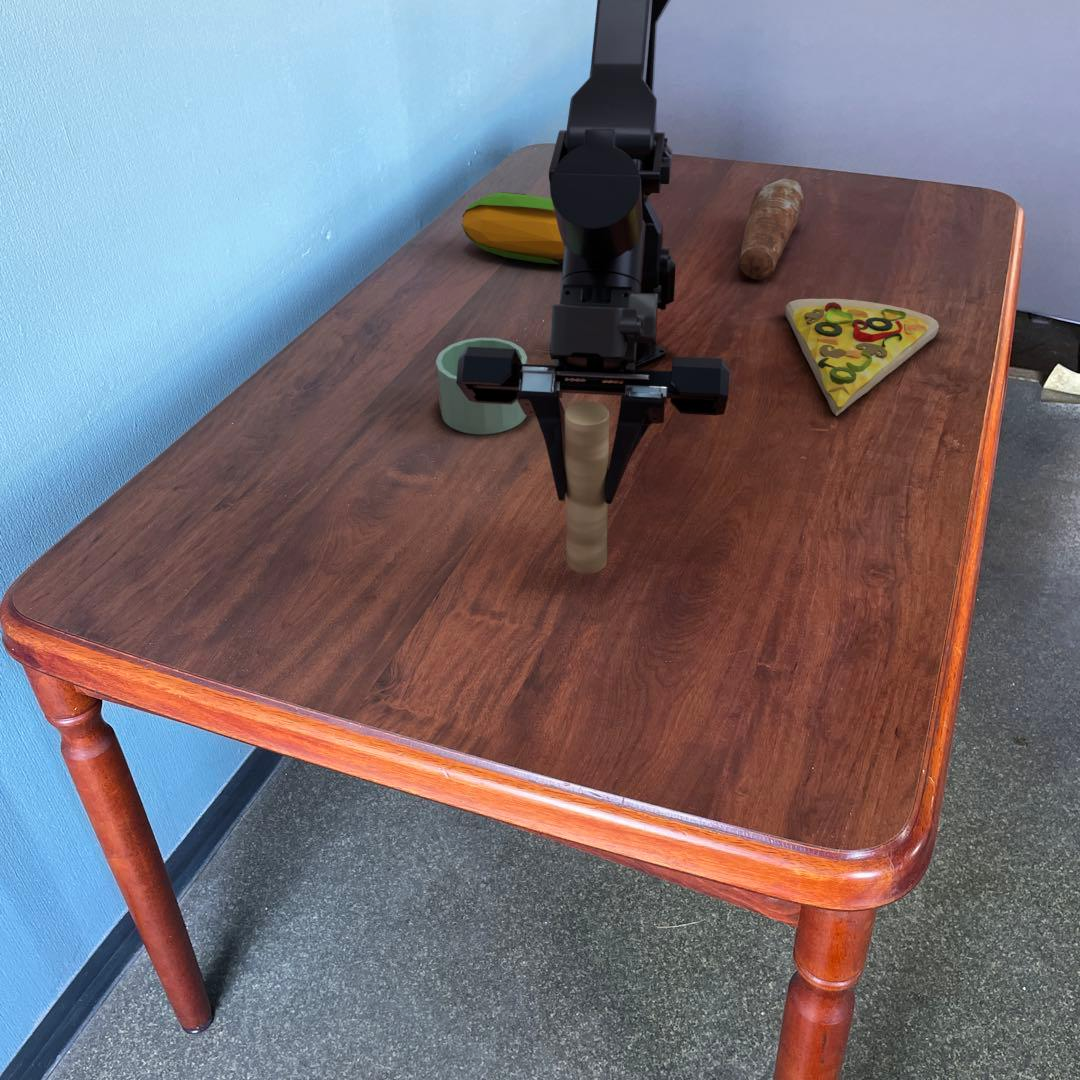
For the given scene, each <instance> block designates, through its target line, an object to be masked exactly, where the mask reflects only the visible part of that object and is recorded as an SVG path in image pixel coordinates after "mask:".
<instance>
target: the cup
mask: <svg viewBox="0 0 1080 1080" xmlns="http://www.w3.org/2000/svg"><path fill="white" fill-rule="evenodd" d="M468 347H485V348H507V349H516V352H517V354H518V356H519V358H520V360H521V362H522V364H529V362H528V356H527V354H526V351H525V350H524V348H523V347H521V346H520V345H517V344H516V343H514V342H513V341H510V340H505V339H502V338H498V337H474V338H469V339H462V340H460V341H458V342H454V343H451V344H449V345H447V346H446V347H445V348H444V349H442V350H441V351H440V352H439V353H438V356H437V357H436V360H435V371H436V381H437V392H438V404H439V410H440V415H441V418H442V420H443V422H444V423H445V424H446V425H447V426H448V427H450V428H451V429H453V430H455V431H458V432H461V433H465V434H471V435H492V434H493V435H494V434H499V433H502V432H506V431H509V430H511V429H514V428H516V427H517V426H519V425H520V424H522V423H523V422H524V420H525V419H526V418H527V416H526V415H525V414H524V412H523V410H522V408H521V407H520V405H519V403H518V401H517V400H516V401H515V402H514V403H513V404H512V405H508V404H490V403H476V402H472V401H469V400H468V399H467V397H466V396H465V394H464V393H463V392H462V390H461V389H460V388H459V386H458V385H457V384H456V379H457V368H458V360H459V357H460V355H461V354H462V353H463V352H464V351H465V350H466V349H467V348H468Z"/></svg>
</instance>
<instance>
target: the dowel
mask: <svg viewBox="0 0 1080 1080" xmlns="http://www.w3.org/2000/svg"><path fill="white" fill-rule="evenodd" d="M564 411H565V475H566V496H565V542H566V543H565V547H566V549H565V551H566V553H565V554H566V559H565V560H566V564H567V566H568V568H569V569H570V570H571V571H573V572H575V573H578V574H582V575H591V574H596V573H598V572H600V571H602V570H603V569H604V568H605V567H606V566H607V562H608V517H609V515H608V514H609V513H608V509H609V506H608V505H609V504H606V503H605V494H606V480H607V474H608V469H609V461H610V460H609V458H610V457H609V456H610V455H609V454H610V453H609V452H610V410H609V409H608V408H607V406H605V405H604V404H602V403H599V402H595V401H579V402H575V403H573V404H571V405H569V406H567V408H566V410H564Z"/></svg>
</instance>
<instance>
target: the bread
mask: <svg viewBox="0 0 1080 1080" xmlns="http://www.w3.org/2000/svg"><path fill="white" fill-rule="evenodd" d="M805 206H806V200H805V195H804V193H803V190H802V186H801V184H800V183H799V182H798V180H794V179H789V178H783V177H781V178H779V179H777V180H775V181H772V182H770V183H769V184H766V185H764V186H761V187H759V188H758V189H757V190H756V192H755V193H754V196H753V198H752V201H751V204H750V207H749V211H748V216H747V222H746V224H745V229H744V233H743V239H742V243H741V250H740V256H739V261H738V263H739V264H738V266H739V269H740V271H741V272H742V273H743V274H744V275H746V277H748V278H750V279H753V280H763V279H767V278H768V277H770V276H771V275H772V274H773V273H774V271H775V269H776V266H777V263H778V261H779V259H780V258H781V257H782V255H783V252H784V250H785V247H786V246H787V244H788V242H789V240H790V237H791V235H792V233H793V230H794V229H795V228H796V226H797V223H798V221H799V219H800V217H801V216H802V214H803V211H804V209H805Z"/></svg>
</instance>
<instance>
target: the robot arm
mask: <svg viewBox="0 0 1080 1080" xmlns="http://www.w3.org/2000/svg"><path fill="white" fill-rule="evenodd" d="M671 1H672V0H596V11H595V20H594V21H595V22H594V29H593V30H594V32H593V40H592V51H591V62H590V69H589V77H588V78H587V79H586V81H584V83H583V84H582V85H581V86H580V87H579V88H578V90H577V91H575V92H574V93H573V94H572V96H571V98H570V102H569V107H568V108H569V109H568V116H567V123H566V130H565V129H564V130H563V129H560V130H559V131H558V133H557V138H556V141H555V144H554V145H555V146H554V150H553V153H552V157H551V161H550V165H549V168H548V180H549V193H550V199H552V203H553V207H554V211H555V215H556V220H557V224H558V228H559V232H560V235H561V238H562V241H563V243H564V245H565V246H564V258H563V259H562V272H561V283H560V294H559V295H560V296H559V303H557V304H552V305H551V307H552V308H551V327H550V330H551V331H550V344H549V357H550V359H551V360H554V364H553V365H552V364H535V363H533V364H532V363H528V364H522V362H521V360H520V358H519V356H518V354H517V352H516V349H507V348H485V347H468V348H467V349H466V350H465V351H464V352H463V353H462V354H461V355H460V357H459V360H458V368H457V379H456V384H457V385H458V386H459V388H460V389H461V390H462V392H463V393H464V394H465V396H466V397H467V399H468V400H469V401H472V402H476V403H490V404H508V405H512V404H513V403H514V402H515V401H516V400H517V401H518V403H519V405H520V407H521V408H522V410H523V412H524V414H525V415H526V417H529V418H536V420H537V423H538V425H539V427H540V431H541V433H542V436H543V439H544V442H545V447H546V451H547V455H548V460H549V465H550V469H551V472H552V478H553V482H554V487H555V490H556V495H557V500H558V501H559V502H566V475H565V411H566V410H565V408H564V405H563V403H562V400H561V399H563V394H579V395H580V394H582V395H599V396H600V395H601V396H619V397H620V403H619V411H618V418H617V425H616V430H615V435H614V438H613V439H614V440H613V445H612V449H611V454H610V460H609V463H608V474H607V480H606V494H605V503H606V504H608V505H611V504H612V503H613V501H614V499H615V496H616V493H617V491H618V490H619V489H618V488H619V487H620V484H621V482H622V480H623V477H624V474H625V472H626V470H627V467H628V466H629V463H630V460H631V458H632V456H633V454H634V452H635V450H636V449H637V447H638V445H639V444H640V443H641V441H642V439H643V437H644V435H645V434H646V432H647V430H648V428H649V427H650V425H652V424H654V425H660V424H661V425H662V424H663V423H665V404H667V402H668V400H667V399H670V402H669V403H670V404H671V405H672V406H673V408H675V409H676V411H677V412H678V413H679V414H682V415H696V416H697V415H699V416H723V415H725V411H726V408H727V403H728V399H729V390H730V388H729V387H730V374H731V373H730V371H731V370H730V368H731V367H730V366H729V365H728V364H727V362H726V361H725V360H724V359H723V358H721V357H720V358H719V357H718V358H717V357H698V356H697V357H696V356H678V355H677V356H676V355H672V361H671V370H659V369H656V370H655V369H639V368H641V367H644V366H647V365H649V364H651V363H653V362H655V361H658V360H660V359H662V358H665V357H666V356H667V350H666V349H664V348H662V347H660V346H659V345H657V332H658V331H657V329H658V310H661V311H666V310H667V305H670V304H671V303H674V301H675V288H676V287H675V286H676V267H677V266H676V265H677V264H676V262H675V261H674V260H673V259H672V254H670V247H667V246H666V247H665V246H664V247H663V240H664V226H663V223H662V221H661V220H660V218H659V215H658V213H657V211H656V209H655V208H654V206H653V203H652V202H651V200H650V198H649V196H651V195H652V194H660V193H661V189H662V187H663V185H670V180H671V173H672V164H673V163H672V162H673V148H672V147H671V146H670V145H669V144H668V141H669V139H668V137H666V132H659V131H657V128H658V127H657V120H658V119H657V118H658V116H657V115H658V114H657V113H658V111H657V109H658V108H657V107H658V101H657V97H656V96H655V74H656V57H657V36H658V23H659V21H660V20H661V18H662V17H663V14H664V12H665V11H666V9H667V7H668V5H669V4H670V2H671ZM566 379H568V380H566ZM571 379H573V380H571ZM577 379H578V380H577ZM582 380H584V381H582ZM604 381H607V382H604ZM610 381H613V382H610ZM616 381H617V382H616ZM620 382H622V383H620Z"/></svg>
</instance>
